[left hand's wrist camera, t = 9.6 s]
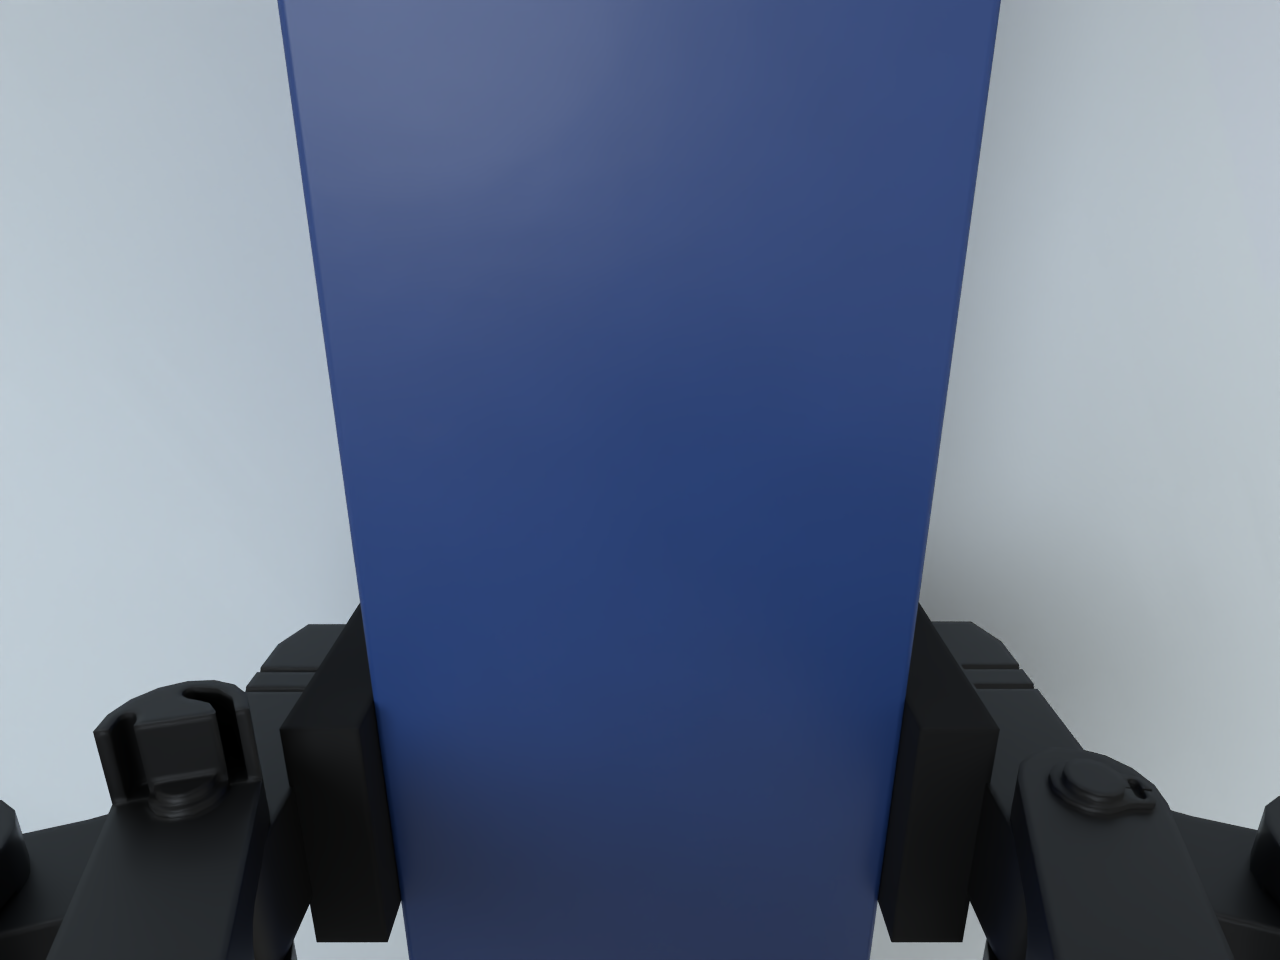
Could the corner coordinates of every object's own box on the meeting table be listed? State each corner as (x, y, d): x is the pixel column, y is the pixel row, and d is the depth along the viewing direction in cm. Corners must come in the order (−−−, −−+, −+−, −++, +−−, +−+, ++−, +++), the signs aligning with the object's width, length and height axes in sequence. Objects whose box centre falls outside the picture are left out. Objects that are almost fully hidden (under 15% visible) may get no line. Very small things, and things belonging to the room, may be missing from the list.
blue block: (450, -287, 12) (128, -1029, 4) (828, -288, 12) (1149, -1031, 4) (515, 710, 18) (427, 1109, 11) (764, 710, 18) (852, 1109, 11)
